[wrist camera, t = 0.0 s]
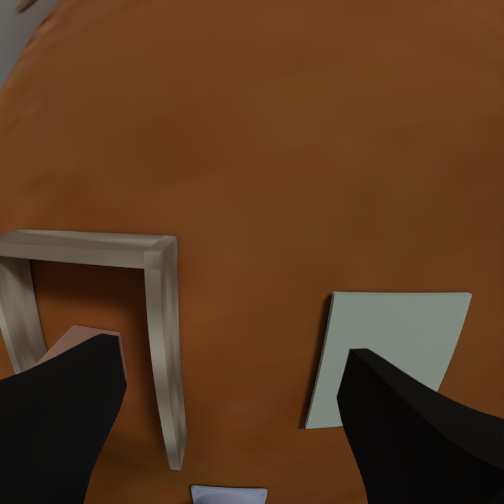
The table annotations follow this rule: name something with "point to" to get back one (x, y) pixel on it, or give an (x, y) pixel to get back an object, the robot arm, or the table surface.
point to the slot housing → (108, 254)
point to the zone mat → (386, 340)
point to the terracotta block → (76, 337)
